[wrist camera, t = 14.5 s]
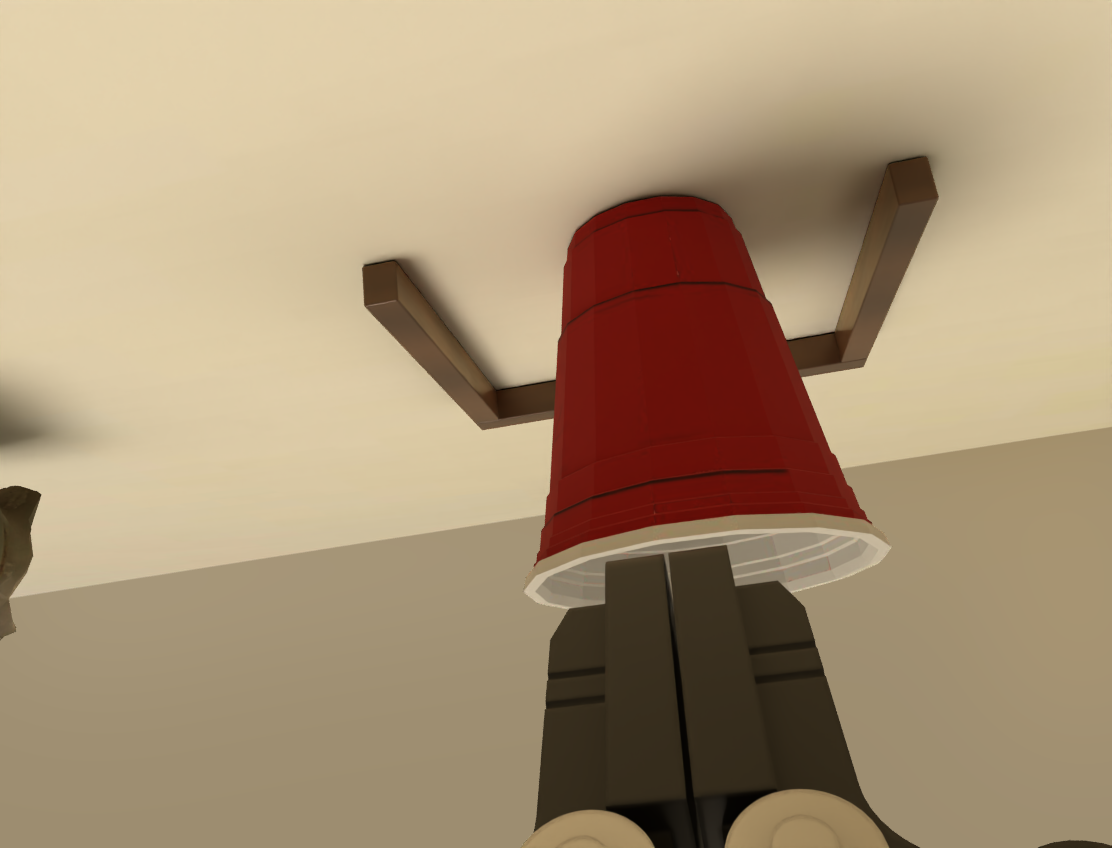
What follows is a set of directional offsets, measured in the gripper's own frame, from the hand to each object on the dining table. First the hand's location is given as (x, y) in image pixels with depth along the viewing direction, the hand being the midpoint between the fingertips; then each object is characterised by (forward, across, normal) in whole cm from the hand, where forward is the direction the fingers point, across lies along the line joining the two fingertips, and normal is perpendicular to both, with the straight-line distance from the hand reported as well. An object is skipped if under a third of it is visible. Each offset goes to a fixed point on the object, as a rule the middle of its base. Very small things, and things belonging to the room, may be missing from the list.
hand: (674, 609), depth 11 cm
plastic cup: (+21, 0, +1) cm, 21 cm away
